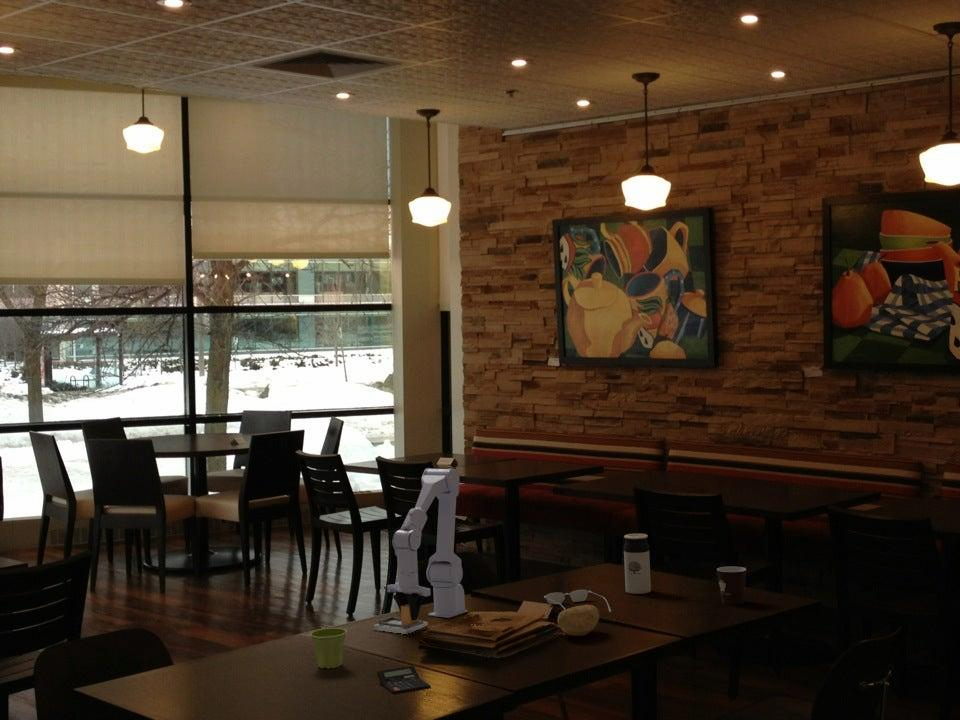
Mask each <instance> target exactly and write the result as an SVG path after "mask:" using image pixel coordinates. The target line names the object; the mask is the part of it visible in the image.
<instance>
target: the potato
mask: <svg viewBox="0 0 960 720" xmlns="http://www.w3.org/2000/svg"><path fill="white" fill-rule="evenodd" d="M599 620H600V610H599V609H598V607H596V606H595V605H593V604H583V605H576V606H573V607H570V608H567V609H566V608H565V610H564V609H563V610H561V611H560V612H559V614H558V616H557V624H558V627H559V628H560V629H561V631H562V632H563V633H564V634H566V635H569V636H577V637H583V636H586V635H588V634H589V633H591V632H592V631H593V630H594V629H595V628H596V626H597V624H598V623H599Z"/></svg>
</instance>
